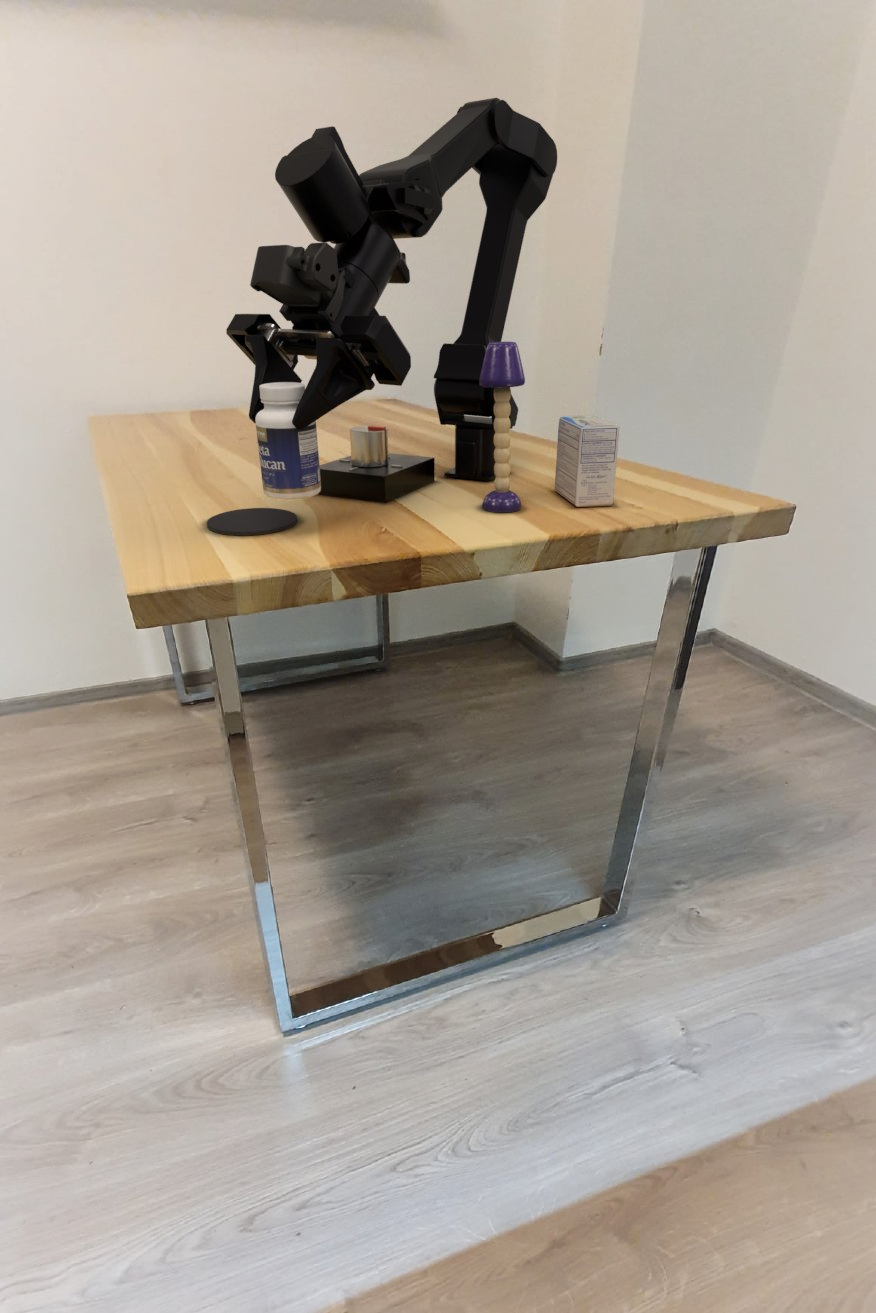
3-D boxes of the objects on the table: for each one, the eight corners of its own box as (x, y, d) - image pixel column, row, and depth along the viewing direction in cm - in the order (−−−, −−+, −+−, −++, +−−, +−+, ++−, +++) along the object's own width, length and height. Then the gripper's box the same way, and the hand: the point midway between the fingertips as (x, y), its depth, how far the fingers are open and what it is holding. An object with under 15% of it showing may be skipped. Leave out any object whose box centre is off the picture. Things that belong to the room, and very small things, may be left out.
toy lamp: (488, 515, 77) (493, 343, 69) (469, 505, 81) (472, 341, 73) (528, 510, 78) (537, 342, 71) (507, 500, 82) (514, 340, 75)
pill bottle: (251, 497, 68) (237, 386, 63) (287, 484, 72) (276, 380, 68) (298, 503, 65) (287, 389, 61) (332, 490, 70) (324, 382, 65)
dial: (344, 465, 85) (342, 427, 83) (364, 458, 89) (362, 422, 87) (376, 468, 83) (375, 430, 81) (395, 462, 87) (394, 424, 85)
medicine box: (613, 506, 80) (622, 424, 76) (574, 508, 79) (581, 426, 75) (589, 490, 87) (595, 414, 83) (553, 491, 86) (558, 415, 82)
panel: (367, 474, 95) (365, 449, 94) (434, 481, 91) (434, 456, 89) (312, 493, 85) (310, 466, 84) (385, 503, 81) (384, 474, 80)
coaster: (247, 507, 80) (247, 504, 79) (315, 517, 76) (314, 514, 76) (187, 528, 72) (187, 524, 72) (258, 540, 69) (258, 536, 69)
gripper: (228, 215, 66) (144, 355, 63) (384, 200, 56) (292, 365, 53) (300, 309, 75) (229, 435, 72) (445, 310, 65) (369, 456, 62)
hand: (273, 423), depth 65 cm, fingers closed on pill bottle, 5 cm apart
